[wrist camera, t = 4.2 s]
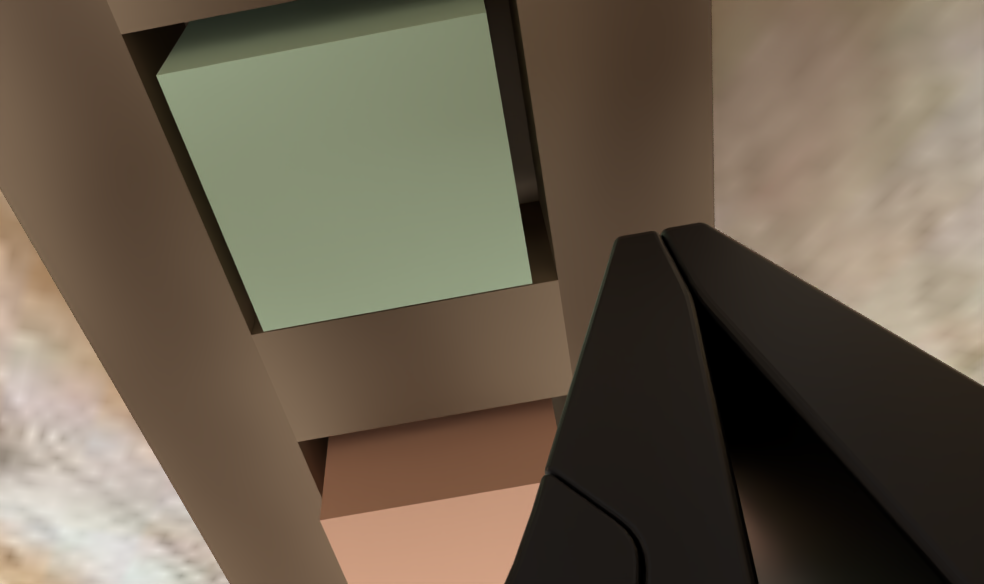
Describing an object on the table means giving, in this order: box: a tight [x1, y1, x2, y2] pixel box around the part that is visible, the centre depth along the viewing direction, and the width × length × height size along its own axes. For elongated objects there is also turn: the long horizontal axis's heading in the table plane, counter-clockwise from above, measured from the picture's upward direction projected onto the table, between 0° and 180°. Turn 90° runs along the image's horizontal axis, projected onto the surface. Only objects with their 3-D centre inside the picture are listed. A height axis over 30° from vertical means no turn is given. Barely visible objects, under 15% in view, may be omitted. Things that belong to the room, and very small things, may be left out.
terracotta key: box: [320, 398, 557, 584], centre depth 20 cm, size 5×5×3 cm
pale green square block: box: [156, 0, 532, 331], centre depth 15 cm, size 5×5×3 cm
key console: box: [0, 0, 714, 584], centre depth 22 cm, size 12×28×4 cm, turn 10°
